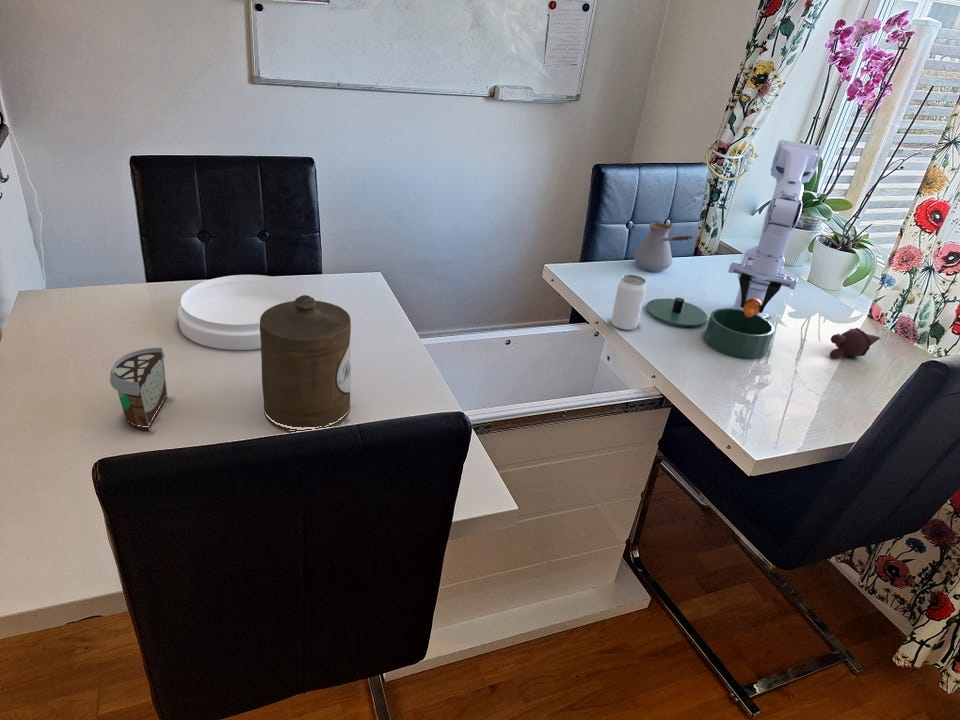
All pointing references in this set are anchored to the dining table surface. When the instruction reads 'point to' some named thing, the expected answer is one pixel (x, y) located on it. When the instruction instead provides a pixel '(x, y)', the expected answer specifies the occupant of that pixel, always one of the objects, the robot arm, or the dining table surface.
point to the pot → (739, 333)
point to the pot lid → (676, 312)
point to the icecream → (852, 343)
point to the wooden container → (305, 363)
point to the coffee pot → (656, 248)
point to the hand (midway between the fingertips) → (751, 308)
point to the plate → (232, 309)
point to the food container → (140, 386)
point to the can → (628, 302)
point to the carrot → (752, 307)
